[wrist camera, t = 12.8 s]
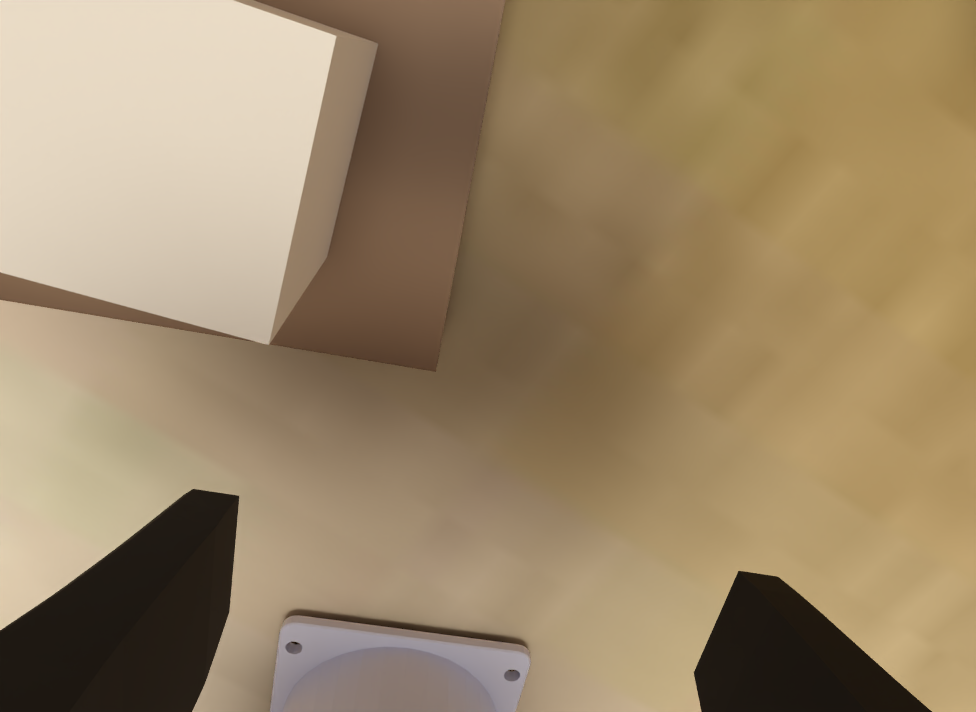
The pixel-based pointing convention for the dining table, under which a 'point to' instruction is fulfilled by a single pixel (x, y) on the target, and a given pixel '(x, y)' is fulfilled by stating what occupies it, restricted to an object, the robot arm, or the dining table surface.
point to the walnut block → (379, 187)
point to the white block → (175, 153)
